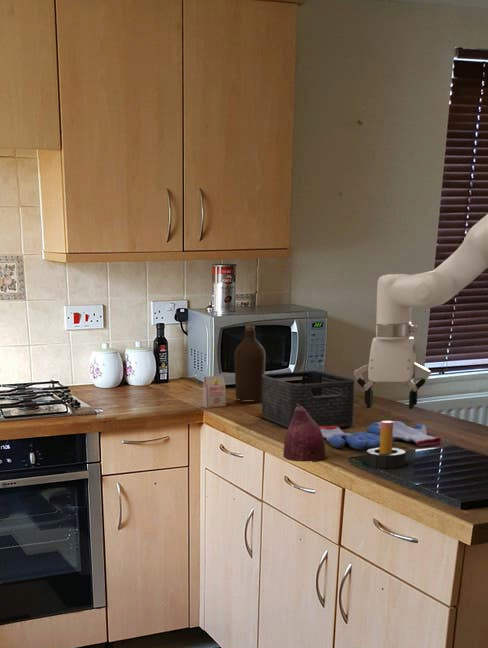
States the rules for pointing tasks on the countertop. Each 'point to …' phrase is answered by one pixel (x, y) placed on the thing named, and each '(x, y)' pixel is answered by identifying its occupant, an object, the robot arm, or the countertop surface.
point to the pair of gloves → (378, 436)
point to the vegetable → (303, 438)
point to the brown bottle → (249, 368)
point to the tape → (385, 458)
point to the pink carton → (214, 391)
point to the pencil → (386, 437)
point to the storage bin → (308, 398)
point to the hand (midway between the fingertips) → (390, 407)
